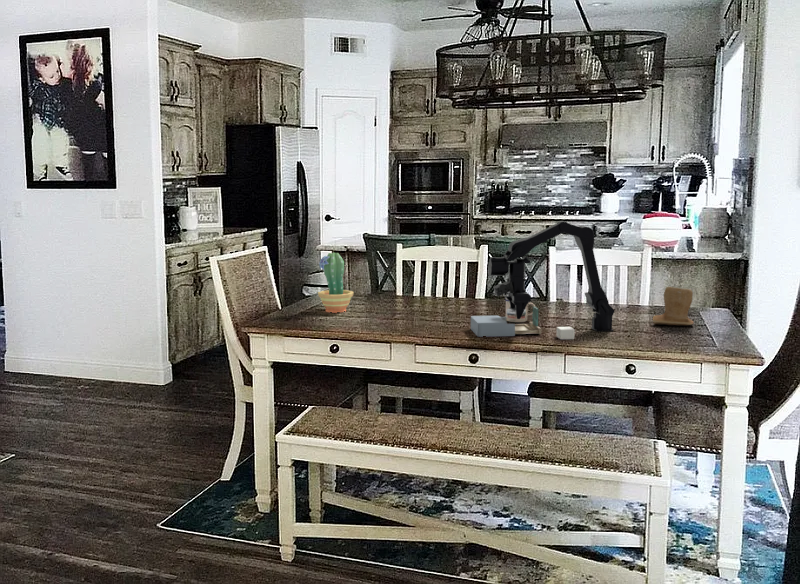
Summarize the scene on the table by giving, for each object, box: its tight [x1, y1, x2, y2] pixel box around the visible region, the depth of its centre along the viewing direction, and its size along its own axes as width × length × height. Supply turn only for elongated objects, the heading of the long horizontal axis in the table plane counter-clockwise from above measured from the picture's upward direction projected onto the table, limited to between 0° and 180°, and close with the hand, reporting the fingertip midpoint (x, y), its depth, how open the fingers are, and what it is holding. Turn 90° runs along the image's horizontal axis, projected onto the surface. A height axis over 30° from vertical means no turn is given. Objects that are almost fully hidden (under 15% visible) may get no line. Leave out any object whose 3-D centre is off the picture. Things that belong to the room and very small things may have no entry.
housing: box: [470, 315, 516, 338], centre depth 289 cm, size 14×14×5 cm
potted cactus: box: [317, 252, 354, 314], centre depth 333 cm, size 15×15×25 cm
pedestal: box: [555, 326, 575, 340], centre depth 280 cm, size 5×5×4 cm
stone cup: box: [652, 286, 695, 326], centre depth 303 cm, size 15×12×15 cm
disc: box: [507, 308, 526, 316], centre depth 289 cm, size 7×7×2 cm
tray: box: [514, 306, 542, 335], centre depth 290 cm, size 14×13×8 cm
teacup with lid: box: [504, 297, 536, 323], centre depth 312 cm, size 12×9×12 cm
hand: (516, 317), depth 289 cm, fingers closed on disc, 7 cm apart
